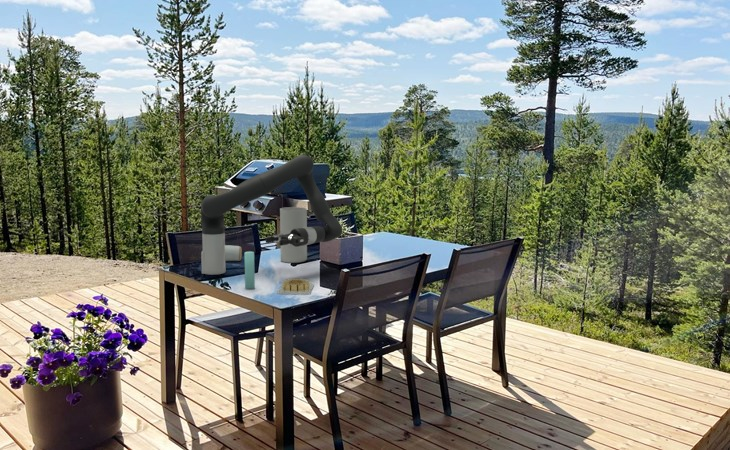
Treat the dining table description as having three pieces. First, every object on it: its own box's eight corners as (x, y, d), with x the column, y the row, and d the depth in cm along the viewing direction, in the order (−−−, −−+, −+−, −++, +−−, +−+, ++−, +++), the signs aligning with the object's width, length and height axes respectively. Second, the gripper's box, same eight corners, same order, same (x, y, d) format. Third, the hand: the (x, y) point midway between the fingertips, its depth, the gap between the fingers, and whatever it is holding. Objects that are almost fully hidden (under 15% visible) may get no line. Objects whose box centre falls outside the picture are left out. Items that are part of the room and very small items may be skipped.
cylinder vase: (291, 256, 270) (291, 206, 266) (312, 259, 263) (311, 208, 260) (275, 261, 259) (274, 209, 255) (296, 264, 253) (295, 210, 249)
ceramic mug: (241, 262, 255) (240, 246, 254) (223, 262, 254) (222, 246, 253) (242, 258, 266) (242, 242, 265) (225, 258, 264) (225, 242, 263)
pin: (244, 289, 208) (243, 253, 206) (246, 286, 212) (245, 251, 210) (253, 289, 208) (252, 253, 206) (255, 286, 212) (255, 251, 210)
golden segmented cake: (277, 293, 202) (277, 286, 202) (283, 285, 215) (283, 277, 215) (309, 294, 202) (309, 286, 202) (313, 285, 215) (313, 278, 214)
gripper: (291, 225, 232) (261, 230, 220) (314, 229, 223) (284, 234, 211) (292, 243, 233) (261, 248, 221) (315, 247, 224) (284, 253, 212)
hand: (272, 241), depth 216 cm, fingers open, 8 cm apart
